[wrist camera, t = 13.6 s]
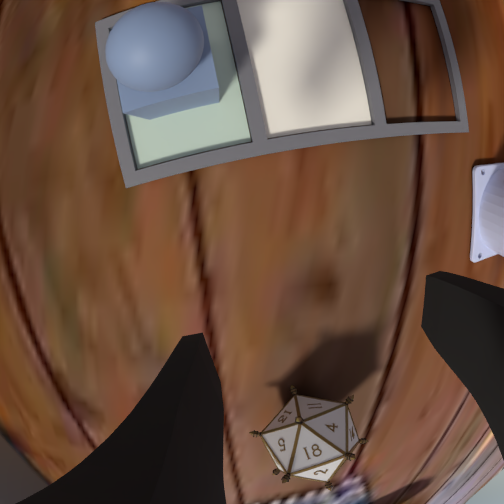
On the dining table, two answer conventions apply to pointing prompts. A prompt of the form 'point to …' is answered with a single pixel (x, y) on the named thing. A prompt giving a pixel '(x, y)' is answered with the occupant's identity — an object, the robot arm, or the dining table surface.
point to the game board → (271, 87)
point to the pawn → (162, 60)
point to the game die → (311, 438)
